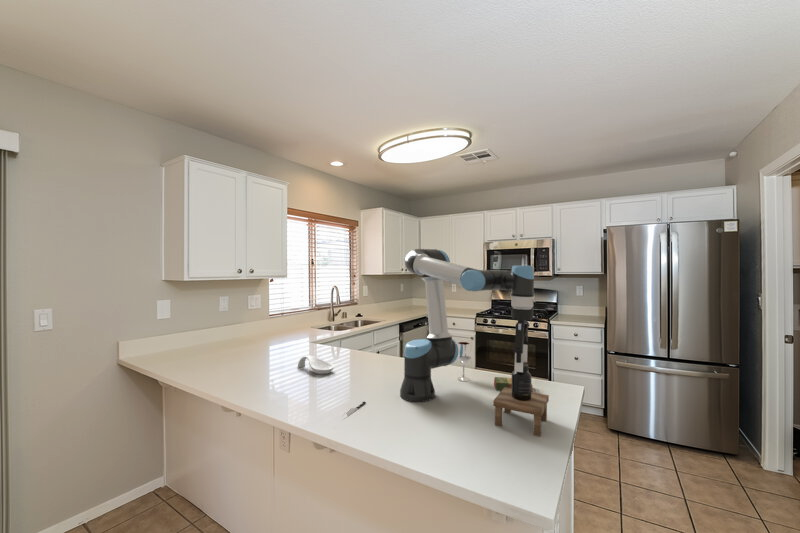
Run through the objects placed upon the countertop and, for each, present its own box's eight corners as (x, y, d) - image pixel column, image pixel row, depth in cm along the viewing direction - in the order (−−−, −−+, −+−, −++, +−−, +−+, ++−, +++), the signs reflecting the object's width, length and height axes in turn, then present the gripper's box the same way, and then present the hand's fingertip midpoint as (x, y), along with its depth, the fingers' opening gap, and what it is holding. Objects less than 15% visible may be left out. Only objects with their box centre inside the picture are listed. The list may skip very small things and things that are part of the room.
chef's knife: (333, 422, 125) (340, 423, 124) (333, 419, 125) (340, 420, 124) (360, 402, 143) (366, 403, 142) (359, 400, 143) (366, 400, 142)
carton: (532, 393, 155) (532, 384, 155) (495, 391, 158) (495, 381, 157) (529, 387, 163) (529, 378, 163) (494, 385, 166) (494, 376, 166)
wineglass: (471, 382, 168) (472, 345, 168) (454, 381, 169) (455, 344, 169) (471, 377, 176) (472, 342, 176) (455, 376, 177) (455, 341, 177)
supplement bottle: (508, 394, 128) (508, 362, 128) (526, 393, 129) (526, 361, 129) (516, 401, 121) (516, 367, 121) (534, 401, 122) (534, 366, 122)
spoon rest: (338, 372, 183) (338, 358, 183) (321, 378, 173) (322, 363, 173) (308, 364, 197) (308, 352, 197) (291, 369, 187) (291, 356, 187)
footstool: (541, 437, 114) (541, 410, 114) (493, 425, 122) (493, 400, 122) (548, 419, 128) (548, 395, 128) (504, 409, 136) (504, 387, 136)
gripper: (529, 312, 112) (528, 378, 112) (536, 305, 135) (535, 359, 135) (506, 311, 115) (504, 374, 116) (516, 303, 138) (515, 356, 138)
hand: (521, 366), depth 125 cm, fingers open, 13 cm apart
